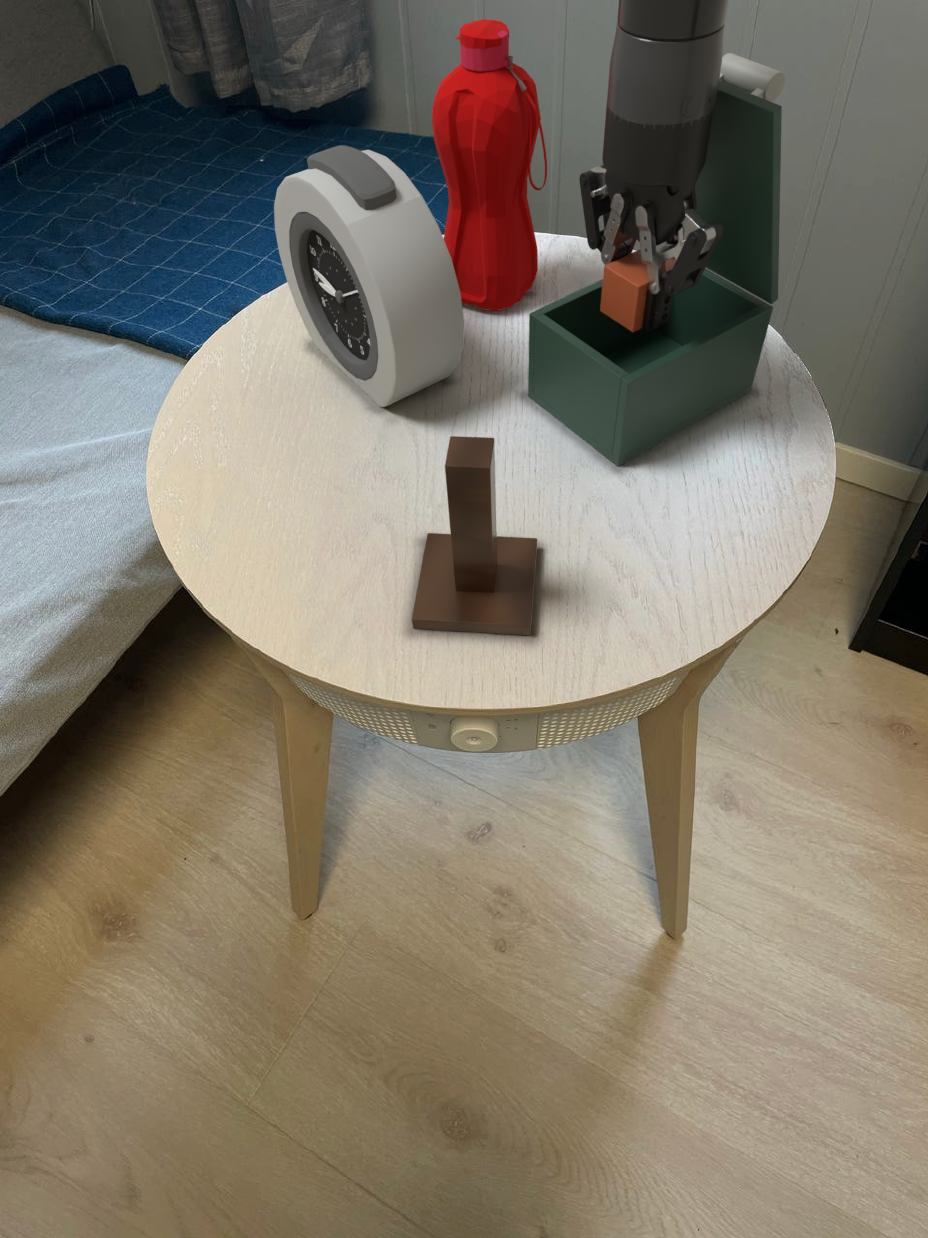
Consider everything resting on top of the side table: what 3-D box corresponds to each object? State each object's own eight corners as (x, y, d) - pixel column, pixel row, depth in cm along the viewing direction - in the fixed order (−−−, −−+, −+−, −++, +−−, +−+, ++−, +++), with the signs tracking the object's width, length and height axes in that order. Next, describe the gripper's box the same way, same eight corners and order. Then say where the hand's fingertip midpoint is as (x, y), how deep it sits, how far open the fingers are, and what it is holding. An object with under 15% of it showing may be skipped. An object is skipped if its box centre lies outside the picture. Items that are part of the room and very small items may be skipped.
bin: (617, 466, 75) (628, 383, 68) (527, 395, 82) (529, 312, 75) (751, 391, 81) (773, 306, 74) (656, 330, 87) (669, 247, 80)
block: (669, 314, 73) (677, 268, 69) (632, 332, 71) (638, 286, 68) (635, 293, 75) (641, 247, 72) (599, 310, 74) (603, 265, 70)
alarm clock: (295, 327, 91) (249, 128, 75) (355, 301, 93) (323, 104, 77) (404, 429, 80) (377, 221, 64) (469, 397, 82) (458, 190, 66)
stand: (537, 547, 70) (541, 410, 59) (530, 635, 64) (533, 502, 53) (428, 542, 71) (412, 405, 60) (412, 628, 65) (392, 496, 54)
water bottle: (522, 326, 89) (525, 54, 69) (432, 300, 93) (410, 35, 73) (561, 282, 94) (573, 15, 74) (474, 259, 97) (464, 0, 77)
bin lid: (773, 112, 58) (830, 65, 58) (643, 59, 65) (695, 16, 65) (771, 304, 73) (816, 266, 74) (666, 245, 80) (708, 210, 80)
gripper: (776, 113, 57) (726, 336, 71) (631, 53, 65) (611, 265, 78) (696, 147, 55) (660, 371, 68) (554, 81, 62) (547, 295, 76)
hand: (634, 313), depth 73 cm, fingers closed on block, 4 cm apart
